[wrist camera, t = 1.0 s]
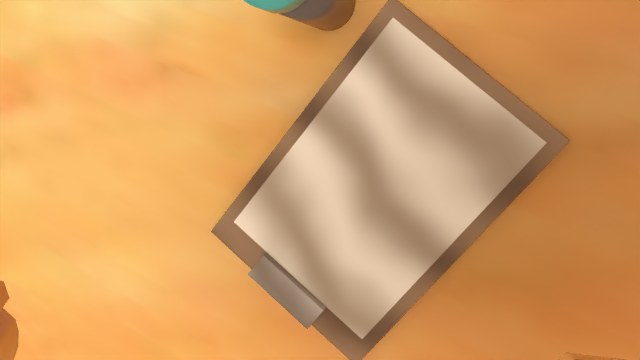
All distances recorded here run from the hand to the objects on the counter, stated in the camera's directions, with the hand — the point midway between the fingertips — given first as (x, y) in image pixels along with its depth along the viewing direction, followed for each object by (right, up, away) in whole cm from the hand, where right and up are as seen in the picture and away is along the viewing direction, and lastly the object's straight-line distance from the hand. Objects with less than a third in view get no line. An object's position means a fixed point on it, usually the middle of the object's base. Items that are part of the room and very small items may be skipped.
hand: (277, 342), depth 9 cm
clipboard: (+5, +2, +34) cm, 34 cm away
